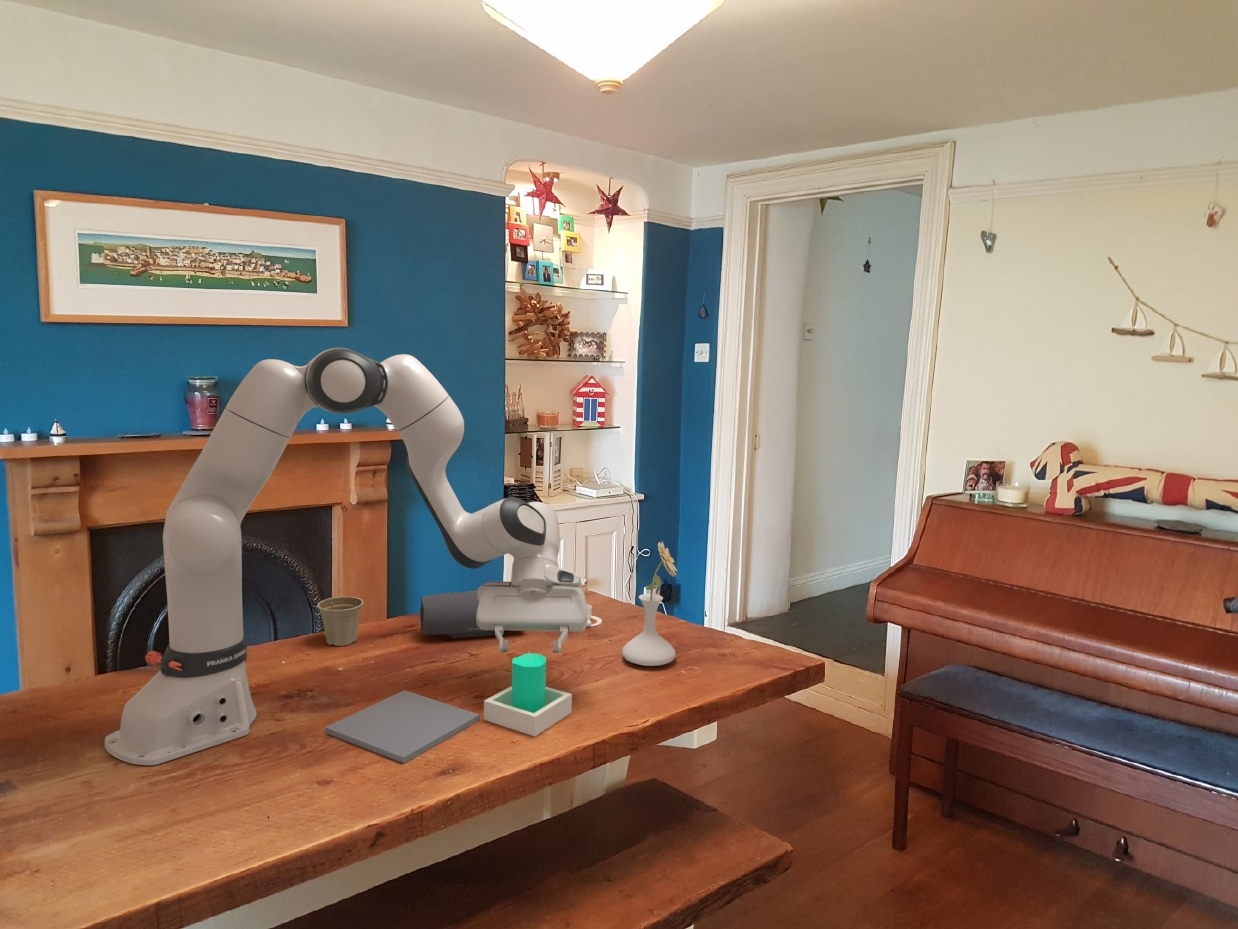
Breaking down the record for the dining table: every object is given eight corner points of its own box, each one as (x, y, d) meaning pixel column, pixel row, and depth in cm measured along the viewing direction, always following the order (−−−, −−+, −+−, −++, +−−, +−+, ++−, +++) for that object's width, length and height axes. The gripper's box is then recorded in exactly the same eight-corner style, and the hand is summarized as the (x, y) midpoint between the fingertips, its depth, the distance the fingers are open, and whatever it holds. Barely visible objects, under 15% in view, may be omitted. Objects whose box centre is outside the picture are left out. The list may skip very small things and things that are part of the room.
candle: (541, 707, 148) (542, 644, 146) (548, 722, 142) (550, 656, 141) (508, 711, 146) (509, 646, 144) (514, 726, 141) (515, 659, 139)
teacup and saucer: (587, 631, 189) (587, 614, 189) (559, 624, 193) (560, 608, 193) (608, 621, 196) (608, 605, 196) (581, 615, 201) (581, 599, 200)
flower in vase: (659, 675, 164) (664, 554, 160) (611, 662, 170) (614, 545, 166) (688, 656, 175) (693, 542, 171) (642, 644, 181) (646, 534, 177)
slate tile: (403, 763, 127) (403, 757, 127) (325, 732, 136) (324, 727, 136) (479, 720, 142) (479, 714, 142) (404, 695, 151) (404, 690, 151)
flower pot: (334, 653, 170) (334, 613, 169) (309, 642, 176) (308, 603, 175) (372, 641, 178) (372, 602, 177) (347, 631, 184) (346, 593, 182)
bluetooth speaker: (519, 623, 192) (519, 582, 191) (527, 637, 183) (528, 594, 182) (419, 631, 185) (419, 588, 183) (423, 646, 176) (423, 601, 175)
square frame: (534, 736, 137) (535, 717, 136) (483, 720, 142) (484, 700, 142) (571, 712, 146) (572, 694, 146) (522, 697, 152) (522, 679, 151)
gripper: (477, 573, 151) (469, 643, 142) (588, 575, 152) (587, 644, 143) (480, 589, 156) (473, 657, 147) (587, 591, 157) (586, 659, 148)
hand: (530, 651), depth 145 cm, fingers open, 8 cm apart
